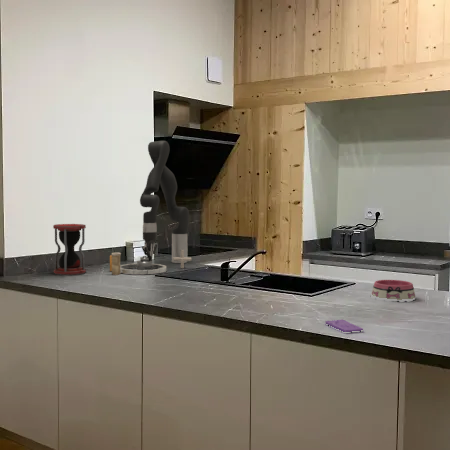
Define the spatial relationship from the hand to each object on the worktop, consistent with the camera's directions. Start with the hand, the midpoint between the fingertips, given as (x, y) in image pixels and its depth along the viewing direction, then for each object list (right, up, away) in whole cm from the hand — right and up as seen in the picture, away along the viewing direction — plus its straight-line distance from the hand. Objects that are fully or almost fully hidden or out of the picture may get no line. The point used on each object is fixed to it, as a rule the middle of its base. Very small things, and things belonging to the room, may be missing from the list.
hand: (149, 262), depth 313 cm
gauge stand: (-15, -5, -19) cm, 25 cm away
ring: (-5, -4, -8) cm, 10 cm away
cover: (-2, -4, -5) cm, 7 cm away
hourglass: (-39, -4, -16) cm, 43 cm away
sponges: (+80, -14, -125) cm, 149 cm away
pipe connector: (+17, -4, +6) cm, 19 cm away
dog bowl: (+112, -11, -71) cm, 133 cm away
